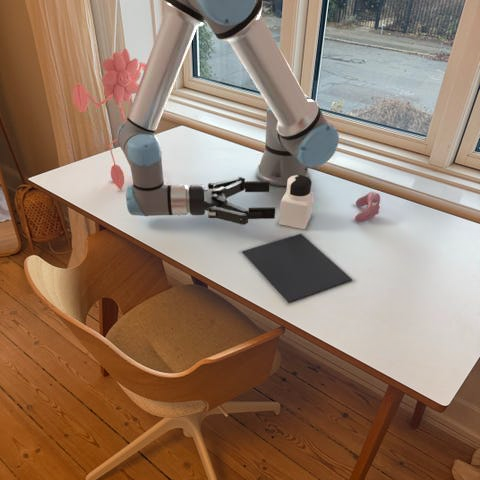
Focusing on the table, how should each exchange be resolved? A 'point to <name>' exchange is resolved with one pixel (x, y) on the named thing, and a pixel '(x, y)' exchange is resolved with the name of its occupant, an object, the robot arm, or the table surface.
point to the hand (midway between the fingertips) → (272, 199)
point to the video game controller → (368, 206)
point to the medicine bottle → (297, 202)
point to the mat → (296, 267)
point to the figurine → (114, 93)
